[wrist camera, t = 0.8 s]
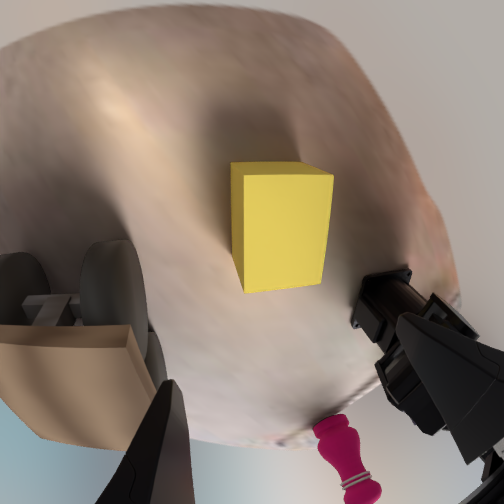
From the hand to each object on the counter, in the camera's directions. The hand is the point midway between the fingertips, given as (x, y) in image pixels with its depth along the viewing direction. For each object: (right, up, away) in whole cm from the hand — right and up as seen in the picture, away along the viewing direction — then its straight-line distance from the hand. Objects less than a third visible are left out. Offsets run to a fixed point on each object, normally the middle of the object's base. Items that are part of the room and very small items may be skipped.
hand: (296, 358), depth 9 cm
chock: (-1, +7, +10) cm, 12 cm away
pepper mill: (+12, -26, +30) cm, 41 cm away
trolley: (-15, -2, +11) cm, 19 cm away
